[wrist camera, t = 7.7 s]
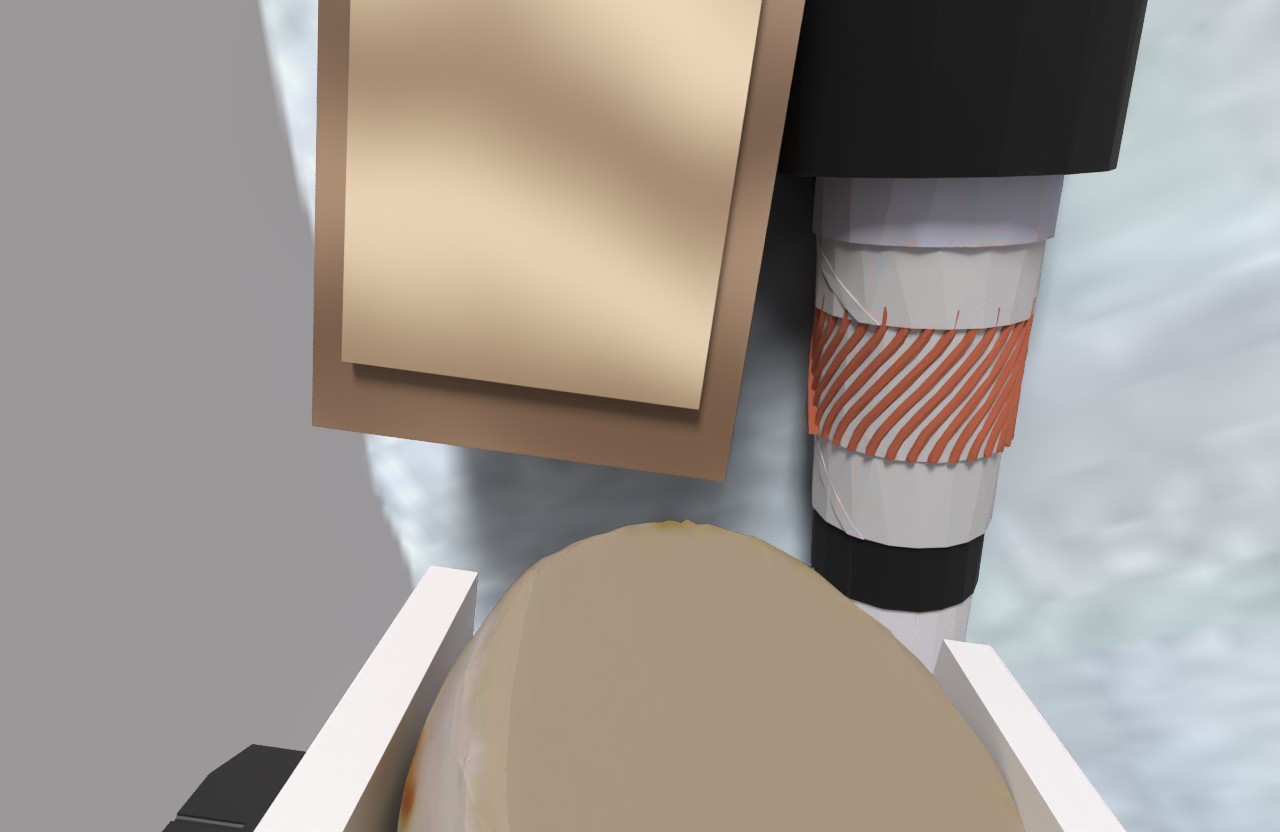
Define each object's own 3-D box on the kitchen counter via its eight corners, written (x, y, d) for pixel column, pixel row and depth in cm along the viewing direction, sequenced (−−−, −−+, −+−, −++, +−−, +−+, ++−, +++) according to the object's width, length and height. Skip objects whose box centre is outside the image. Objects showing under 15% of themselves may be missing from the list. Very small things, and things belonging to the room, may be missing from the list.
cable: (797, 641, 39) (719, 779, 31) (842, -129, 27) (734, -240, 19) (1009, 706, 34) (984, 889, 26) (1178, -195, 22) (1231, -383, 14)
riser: (704, 385, 31) (725, 490, 19) (446, 350, 31) (301, 431, 19) (770, -39, 27) (852, -256, 15) (472, -78, 27) (309, -325, 15)
